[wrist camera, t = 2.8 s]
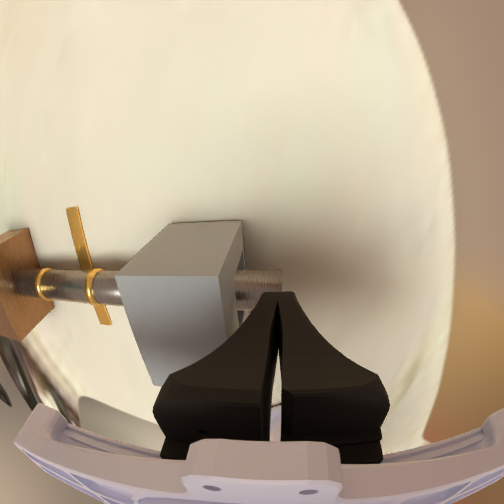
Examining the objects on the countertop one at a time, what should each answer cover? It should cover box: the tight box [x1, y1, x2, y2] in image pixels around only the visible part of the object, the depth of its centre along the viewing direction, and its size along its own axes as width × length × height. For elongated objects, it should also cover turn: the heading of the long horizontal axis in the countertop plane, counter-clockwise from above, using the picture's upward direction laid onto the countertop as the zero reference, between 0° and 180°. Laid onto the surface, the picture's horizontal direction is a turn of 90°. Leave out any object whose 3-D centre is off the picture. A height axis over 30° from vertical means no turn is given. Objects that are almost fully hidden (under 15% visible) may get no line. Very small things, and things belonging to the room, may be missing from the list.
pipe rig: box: [0, 207, 282, 342], centre depth 15 cm, size 22×9×5 cm, turn 94°
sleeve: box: [115, 220, 249, 386], centre depth 13 cm, size 4×6×6 cm, turn 4°
